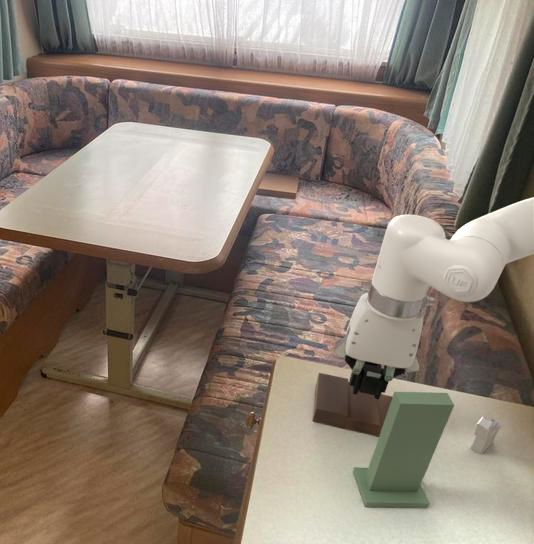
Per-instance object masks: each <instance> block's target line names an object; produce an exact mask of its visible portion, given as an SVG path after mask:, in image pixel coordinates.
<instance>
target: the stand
mask: <svg viewBox="0 0 534 544" xmlns="http://www.w3.org/2000/svg"><path fill="white" fill-rule="evenodd" d="M392 397H393V398H392V401H391V404H390V407H389V410H388V412H387V415H386V418H385V421H384V424H383V427H382V430H381V433H380V436H379V437H378V438H377V441H376V444H375V448H374V450H373V453H372V456H371V459H370V462H369V465H368V467H359V466H357V467H353V470H352V473H353V477H354V480H355V482H356V485H357V488H358V491H359V494H360V496H361V500H362V502H363V505H364V507H365V508H411V509H412V508H414V509H415V508H416V509H417V508H418V509H422V508H423V509H428V508H429V506H430V504H431V503H430V501H429V499H428V497H427V494H426V491H425V490H424V488H423V486H422V482H423V480H424V478H425V475H426V473H427V470H428V468H429V465H430V464H431V461H432V459H433V456H434V454H435V452H436V449H437V447H438V444H439V442H440V440H441V438H442V436H443V434H444V431H445V428H446V426H447V424H448V421H449V419H450V416H451V415H452V412H453V409H454V408H455V407H454V406H455V404H454V402H453V400H452V399H451V397H450V395H449V393H448V392H429V391H428V392H427V391H426V392H425V391H394V392H393V396H392Z"/></svg>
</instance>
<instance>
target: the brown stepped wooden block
mask: <svg viewBox="0 0 534 544" xmlns="http://www.w3.org/2000/svg"><path fill="white" fill-rule="evenodd" d="M392 398H393V396H392V395H387V394H384V393H381V395H380V398H379V399H375V398H374V395H370V394H366V393H361V392H359V391H358V394H353V386H350V385H349V378H346V377H341V376H338V375H332V374H327V373H324V372H323V373H322V372H318V374H317V377H316V383H315V389H314V400H313V415H312V422H314V423H317V424H322V425H326V426H331V427H335V428H338V429H339V428H340V429H344V430H349V431H352V432H357V433H361V434H367V435H371V436H374V437H378V438H379V436H380V433H381V430H382V427H383V424H384V421H385V418H386V415H387V412H388V410H389V407H390V404H391V401H392Z"/></svg>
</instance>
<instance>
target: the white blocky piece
mask: <svg viewBox="0 0 534 544" xmlns="http://www.w3.org/2000/svg"><path fill="white" fill-rule="evenodd" d="M502 425H503V423H502V422H501V421H499V420H498V419H497V418H494V417H492V416H490V417H489V418H488V419H487V418H485V417H484V416H482V417H481V418H480V419H479V420H478V422H477V423H476V427H475V431H474V436H475V437H474V439H473V441H472V444H471V446H470V449H471V450H473V451H474V452H475V453H478V454H479V455H482V454H484V453H485V451H487V449H488V448H490V446H491V445H492V444H493V443H494V440H495V438H496V437H497V434H498V432H499V430H500V428H501V426H502Z"/></svg>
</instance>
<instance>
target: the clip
mask: <svg viewBox="0 0 534 544" xmlns="http://www.w3.org/2000/svg"><path fill="white" fill-rule="evenodd" d="M381 368H382V364H377V363H372V362H368V361H365V363H364V365H363V368H362V380H361V383H360V386H359V392H361V393H366V394H370V395H375V396H377V395H378V392H379V389H380V386H381V383H382V369H381Z"/></svg>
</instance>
